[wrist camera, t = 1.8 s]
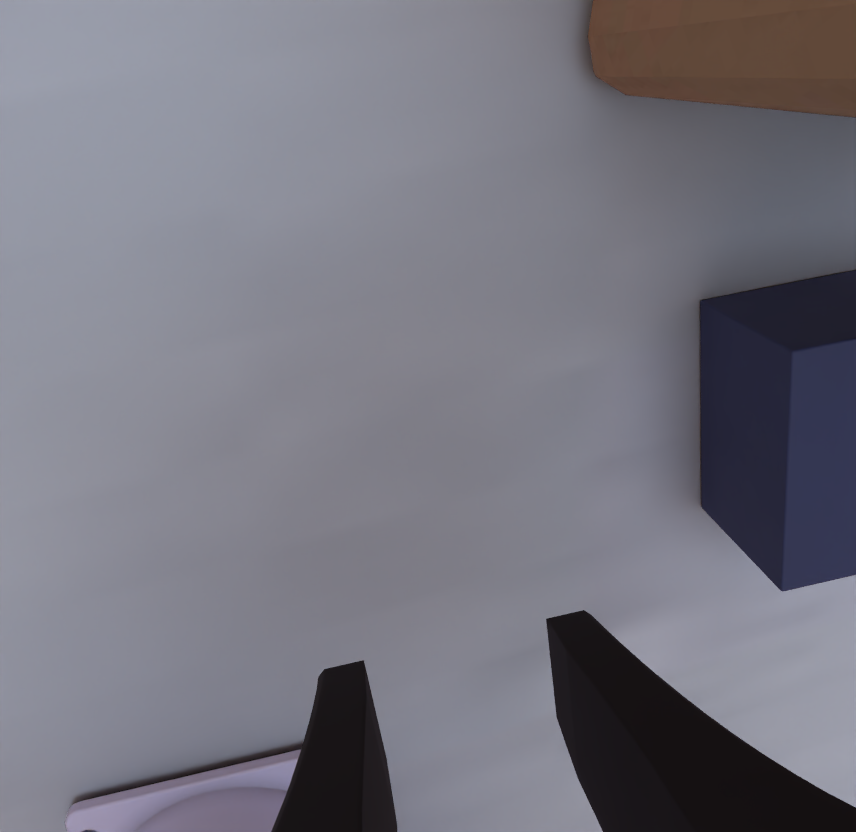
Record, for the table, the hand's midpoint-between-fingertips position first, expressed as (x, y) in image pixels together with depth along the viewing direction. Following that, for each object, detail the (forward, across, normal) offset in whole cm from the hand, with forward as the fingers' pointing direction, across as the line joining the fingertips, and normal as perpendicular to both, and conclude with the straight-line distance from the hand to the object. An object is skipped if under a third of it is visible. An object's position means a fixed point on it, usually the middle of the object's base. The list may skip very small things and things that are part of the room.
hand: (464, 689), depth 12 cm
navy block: (+8, -11, 0) cm, 14 cm away
